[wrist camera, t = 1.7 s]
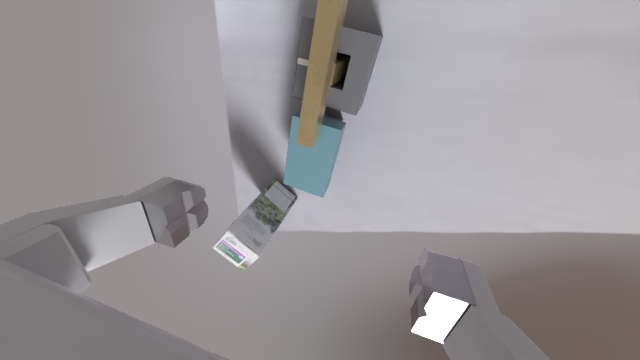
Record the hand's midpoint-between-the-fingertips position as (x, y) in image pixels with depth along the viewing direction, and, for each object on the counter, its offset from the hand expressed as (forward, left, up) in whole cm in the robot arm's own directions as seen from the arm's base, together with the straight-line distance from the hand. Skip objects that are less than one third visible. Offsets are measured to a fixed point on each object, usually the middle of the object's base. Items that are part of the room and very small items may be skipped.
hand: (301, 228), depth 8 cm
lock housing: (+3, -5, -26) cm, 26 cm away
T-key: (-2, -5, -26) cm, 26 cm away
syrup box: (+22, -11, -26) cm, 36 cm away
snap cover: (+8, -5, -22) cm, 24 cm away
